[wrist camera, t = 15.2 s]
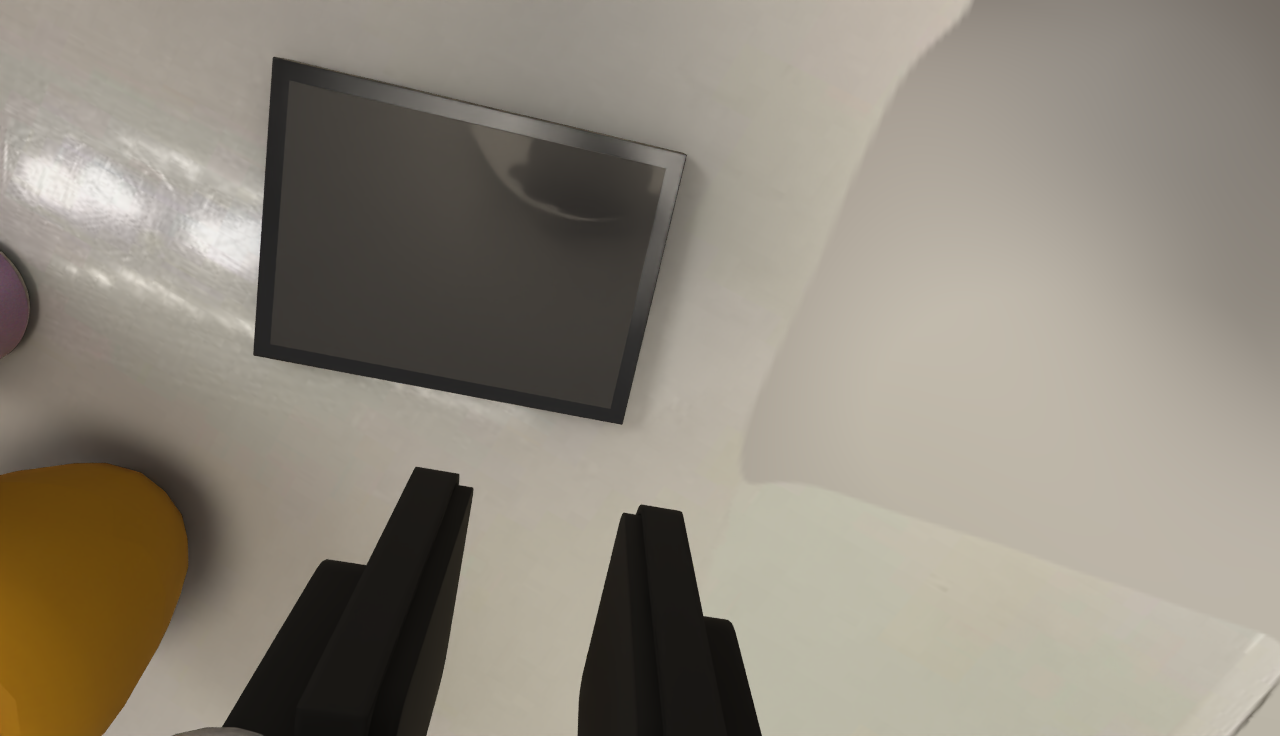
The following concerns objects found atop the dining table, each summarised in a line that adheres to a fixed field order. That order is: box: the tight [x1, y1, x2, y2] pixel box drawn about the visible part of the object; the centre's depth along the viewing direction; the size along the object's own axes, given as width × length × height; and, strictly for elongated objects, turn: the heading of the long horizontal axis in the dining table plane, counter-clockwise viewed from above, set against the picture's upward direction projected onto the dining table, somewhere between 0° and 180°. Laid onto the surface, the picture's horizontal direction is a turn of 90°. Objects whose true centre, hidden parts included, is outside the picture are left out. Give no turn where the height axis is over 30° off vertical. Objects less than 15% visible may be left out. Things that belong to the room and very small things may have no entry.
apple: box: [0, 463, 188, 736], centre depth 29 cm, size 11×11×13 cm
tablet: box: [253, 57, 687, 425], centre depth 31 cm, size 12×16×1 cm
